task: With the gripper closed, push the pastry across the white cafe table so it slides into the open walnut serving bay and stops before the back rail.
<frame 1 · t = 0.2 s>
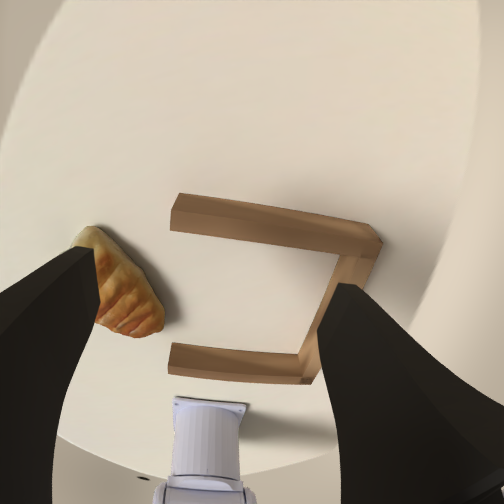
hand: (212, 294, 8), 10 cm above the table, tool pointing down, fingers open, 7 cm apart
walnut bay: (248, 297, 22), on the table
pastry: (110, 272, 21), on the table
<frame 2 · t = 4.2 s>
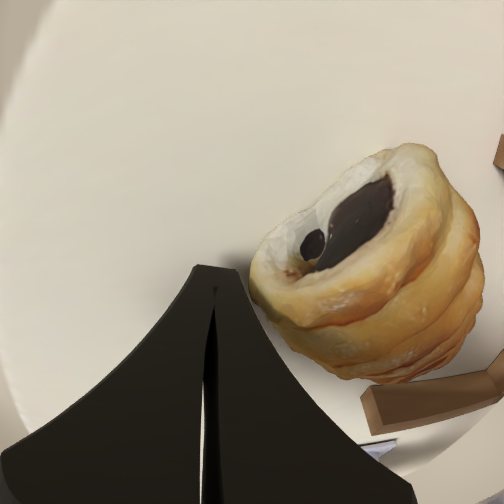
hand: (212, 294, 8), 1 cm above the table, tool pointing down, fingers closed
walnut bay: (496, 304, 11), on the table
pastry: (377, 264, 10), on the table, touching gripper
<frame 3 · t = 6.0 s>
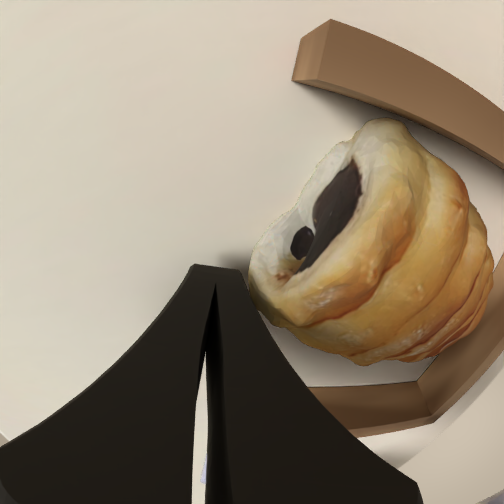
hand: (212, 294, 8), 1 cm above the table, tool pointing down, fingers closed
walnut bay: (391, 295, 10), on the table
pastry: (380, 244, 10), on the table
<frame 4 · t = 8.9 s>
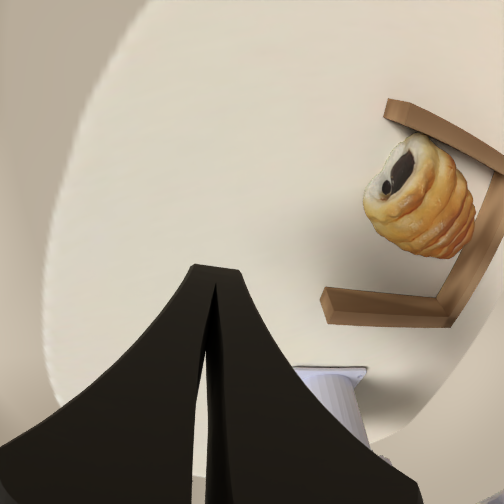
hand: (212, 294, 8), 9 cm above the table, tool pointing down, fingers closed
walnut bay: (420, 225, 18), on the table
pastry: (416, 193, 18), on the table
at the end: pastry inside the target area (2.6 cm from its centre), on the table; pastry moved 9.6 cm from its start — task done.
